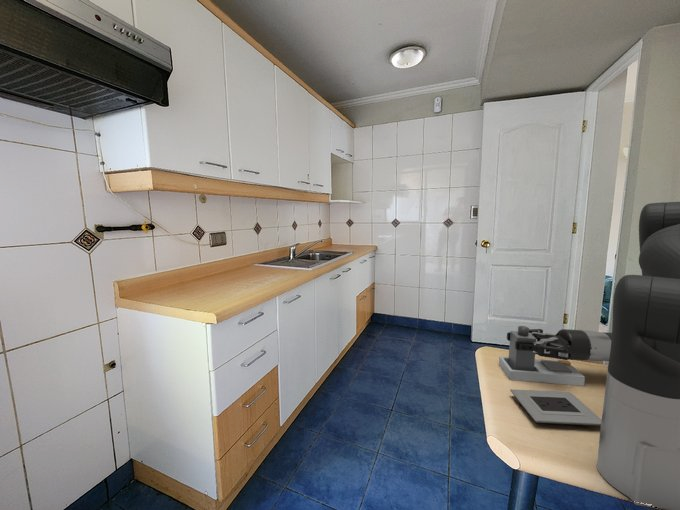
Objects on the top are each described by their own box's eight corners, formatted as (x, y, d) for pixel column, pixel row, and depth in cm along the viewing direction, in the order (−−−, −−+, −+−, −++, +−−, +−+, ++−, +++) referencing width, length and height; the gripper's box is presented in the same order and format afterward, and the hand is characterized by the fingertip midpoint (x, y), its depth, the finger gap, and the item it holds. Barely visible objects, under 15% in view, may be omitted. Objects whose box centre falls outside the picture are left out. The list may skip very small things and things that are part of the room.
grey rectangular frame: (584, 385, 72) (585, 375, 71) (509, 379, 75) (510, 369, 75) (565, 369, 80) (566, 359, 79) (498, 364, 83) (499, 354, 82)
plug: (533, 378, 76) (537, 331, 74) (514, 377, 76) (517, 330, 75) (525, 370, 80) (529, 325, 78) (507, 368, 81) (511, 324, 79)
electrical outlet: (569, 400, 67) (570, 390, 67) (606, 433, 57) (607, 422, 56) (509, 397, 68) (510, 388, 68) (535, 430, 58) (536, 419, 58)
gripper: (568, 321, 81) (502, 318, 84) (604, 343, 67) (523, 338, 70) (566, 346, 82) (500, 342, 85) (601, 373, 68) (521, 367, 71)
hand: (511, 340), depth 77 cm, fingers open, 5 cm apart
